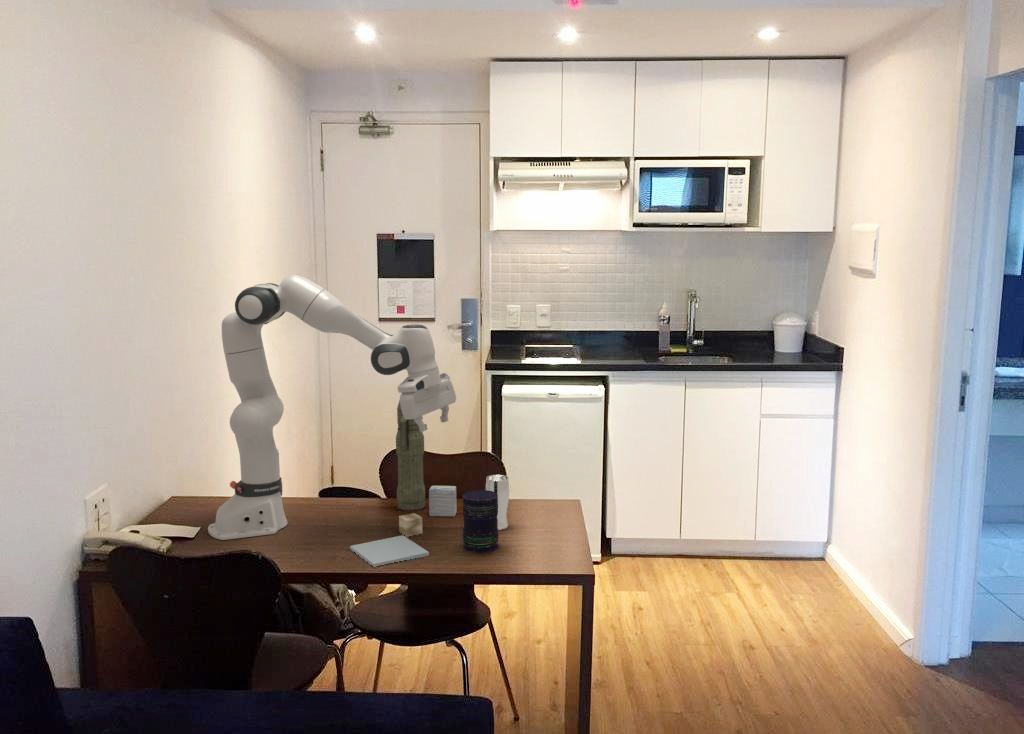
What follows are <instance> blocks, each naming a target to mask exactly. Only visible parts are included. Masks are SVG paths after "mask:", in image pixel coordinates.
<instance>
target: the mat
mask: <svg viewBox="0 0 1024 734" xmlns="http://www.w3.org/2000/svg"><path fill="white" fill-rule="evenodd" d="M350 549H351V550H350ZM349 550H350V551H352V552H353V553H354V552H355V553H356V555H357V556H358V555H359V556H358V557H360V558H361V559H362V560H363V559H364V560H363V561H364V562H365V563H367V562H368V563H367V564H368V565H370V566H371V565H372V566H373V568H374V567H375V568H377V567H376V566H379V565H384V564H388V563H393V564H395V563H394V562H398V563H400V562H399V561H402V562H405V561H404V560H407V561H411V560H416V559H420V558H424V557H428V556H430V552H429V551H428V550H426V549H424V547H422V546H420V545H419V544H417V543H415V542H414V541H413V540H411V539H409V537H406V536H404V535H403V534H401V535H397V536H393V537H388V538H383V539H378V540H373V541H368V542H364V543H359V544H358V543H357V544H353V545H350V546H349ZM355 553H354V554H355ZM415 558H416V559H415ZM410 559H411V560H410ZM372 566H371V567H372ZM384 566H385V565H384Z"/></svg>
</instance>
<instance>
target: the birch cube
mask: <svg viewBox="0 0 1024 734" xmlns="http://www.w3.org/2000/svg"><path fill="white" fill-rule="evenodd" d="M398 531H399V532H400V534H401V533H402V534H401V535H403V536H404V535H405V537H406V538H409V536H411V537H414V536H413V535H416V536H420V535H419V534H421V535H423V534H424V533H423V517H422V516H420V515H418V514H416V513H415V512H413V513H409V514H403V515H399V516H398Z"/></svg>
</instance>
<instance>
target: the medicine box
mask: <svg viewBox="0 0 1024 734" xmlns="http://www.w3.org/2000/svg"><path fill="white" fill-rule="evenodd" d="M428 505H429V507H428V508H429V515H430V516H429V515H428V516H429V517H456V514H457V510H458V508H457V486H455V485H431V486H430V487H429V489H428Z"/></svg>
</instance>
